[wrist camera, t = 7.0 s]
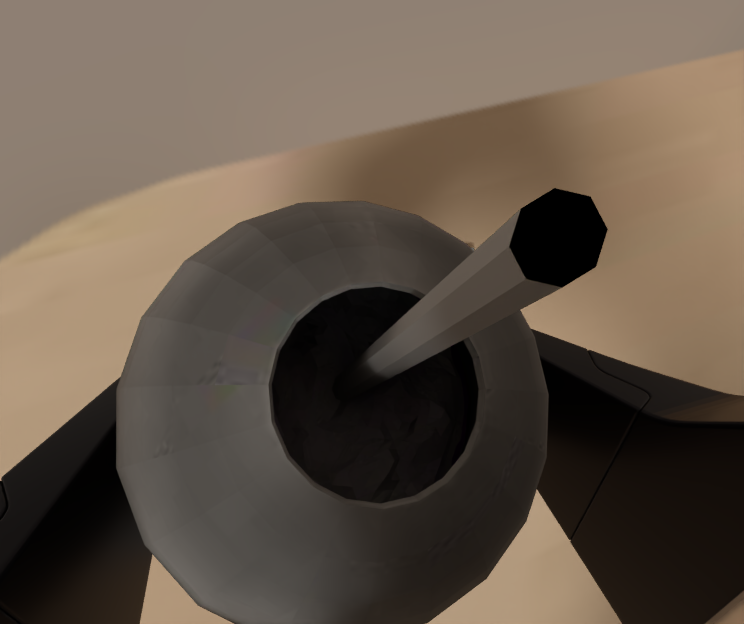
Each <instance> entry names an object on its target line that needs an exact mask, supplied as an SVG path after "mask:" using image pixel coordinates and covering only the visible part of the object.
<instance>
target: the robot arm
mask: <svg viewBox="0 0 744 624" xmlns="http://www.w3.org/2000/svg"><path fill="white" fill-rule="evenodd" d="M530 329H531V328H530ZM531 331H532V332H533V334H534V337H535V341H536V345H537V349H538V353H539V357H540V361H541V365H542V369H543V374H544V378H545V382H546V386H547V390H548V394H549V398H548V430H547V458H546V461H545V464H544V468H543V471H542V474H541V477H540V480H539V483H538V486H537V490H538V491H539V493H540V495H541V496H542V498H543V499H544V501H545V502H546V504H547V506H548V507H549V509H550V510H551V512H552V513H553V515H554V517H555V518H556V520H557V521H558V523H559V524H560V526H561V528H562V529H563V531H564V532H565V534H566V535H567V537H568V539H569V540H571V544H572V545H573V547H574V549H575V550H576V552H577V553H578V555H579V556H580V558H581V560H582V561H583V563H584V564H585V566H586V567H587V569H588V571H589V572H590V574H591V575H592V577H593V578H594V580H595V582H596V583H597V585H598V586H599V588H600V589H601V591H602V593H603V594H604V596H605V597H606V599H607V600H608V602H609V603H610V605H611V607H612V608H613V610H614V611H615V613H616V614H617V616H618V618H619V619H620V621H621V622H622V624H744V396H740V395H733V394H727V393H723V392H719V391H715V390H712V389H708V388H705V387H702V386H699V385H695V384H692V383H689V382H686V381H682V380H679V379H676V378H673V377H669V376H666V375H663V374H660V373H656V372H653V371H650V370H647V369H644V368H641V367H637V366H634V365H631V364H628V363H625V362H622V361H619V360H616V359H614V358H611V357H608V356H605V355H602V354H599V353H597V352H594V351H591V350H588V351H587V349H586V348H583V347H580V346H577V345H575V344H572V343H569V342H566V341H564V340H561V339H558V338H555V337H553V336H550V335H547V334H544V333H542V332H539V331H536V330H533V329H531ZM120 378H121V377H120ZM120 378H118V379H117V380H116V381H115V382H114V383H113V384H111V385H110V386H109V387H108V388H107V389H105V390H104V391H103V392H102V393H101V394H100V395H98V396H97V397H96V398H95V399H94V400H92V401H91V402H90V403H89V404H88V405H87V406H85V407H84V408H83V409H82V410H81V411H79V412H78V413H77V414H76V415H75V416H74V417H72V418H71V419H70V420H69V421H68V422H66V423H65V424H64V425H63V426H62V427H61V428H59V429H58V430H57V431H56V432H55V433H53V434H52V435H51V436H50V437H49V438H48V439H46V440H45V441H44V442H43V443H42V444H40V445H39V446H38V447H37V448H36V449H35V450H33V451H32V452H31V453H30V454H29V455H27V456H26V457H25V458H24V459H23V460H22V461H20V462H19V463H18V464H17V465H16V466H14V467H13V468H12V469H11V470H10V471H9V472H7V473H6V474H5V475H4V476H3V477H2V478H1V480H2V481H0V624H140V619H141V613H142V608H143V602H144V597H145V591H146V586H147V581H148V575H149V570H150V564H151V559H152V553H151V552H150V551H149V549H148V548H147V547H146V546H145V545H144V543H143V540H142V537H141V534H140V532H139V529H138V526H137V523H136V521H135V518H134V515H133V513H132V510H131V507H130V504H129V502H128V499H127V496H126V493H125V491H124V488H123V485H122V483H121V480H120V477H119V474H118V472H117V469H116V389H117V386H118V383H119V380H120Z"/></svg>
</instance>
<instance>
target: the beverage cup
mask: <svg viewBox="0 0 744 624" xmlns="http://www.w3.org/2000/svg"><path fill="white" fill-rule="evenodd" d="M607 230H608V229H607V227H606V225H605V223H604V221H603V220H602V218H601V216H600V214H599V212H598V210H597V208H596V206H595V204H594V202H593V201H592V199H591V197H590V196H586V195H581V194H577V193H573V192H569V191H564V190H560V189H556V188H554V189H552V190H551V191H549V192H547V193H546V194H544V195H543V196H541V197H539V198H538V199H536V200H534V201H533V202H531V203H529V204H528V205H526V206H525V207H523V208H521V209H520V210H519V211H518V212H517V213H516V214H514V215H513V216H512V217H511V218H510V219H509V220H508V221H507V222H506V223H505V224H504V225H502V226H501V227H500V228H499V229H498V230H497V231H496V232H495V233H494V234H493V235H491V236H490V237H489V238H488V239H487V240H486V241H485V242H484V243H483V244H482V245H480V246H479V247H478V248H477V249H476V250H475V251H473V250H472V249H471V248H470V247H469V246H468V245H467V244H466V243H464V242H463V241H461V240H459V239H457V238H456V237H454V236H452V235H451V234H449V233H447V232H445V231H444V230H442V229H440V228H439V227H437V226H435V225H434V224H432V223H430V222H428V221H427V220H425V219H423V218H422V217H420V216H418V215H415V214H411V213H407V212H403V211H399V210H396V209H392V208H388V207H384V206H380V205H376V204H373V203H369V202H365V201H342V202H306V203H297V204H294V205H291V206H288V207H285V208H282V209H279V210H276V211H273V212H270V213H267V214H264V215H261V216H258V217H255V218H252V219H249V220H246V221H243V222H240V223H238V224H236V225H235V226H234V227H232V228H231V229H229V230H228V231H226V232H225V233H224V234H222V235H221V236H219V237H218V238H217V239H215V240H214V241H212V242H211V243H209V244H208V245H207V246H205V247H204V248H202V249H201V250H200V251H198V252H197V253H195V254H194V255H192V256H191V257H190V258H188V259H187V260H185V261H184V262H183V264H182V265H181V266H180V268H179V269H178V270H177V272H176V273H175V274H174V276H173V277H172V278H171V279H170V281H169V282H168V283H167V285H166V286H165V287H164V289H163V290H162V291H161V293H160V294H159V295H158V296H157V298H156V299H155V300H154V302H153V303H152V304H151V306H150V307H149V308H148V310H147V311H146V312H145V314H144V315H143V316H142V317H141V320H140V323H139V326H138V329H137V332H136V334H135V337H134V340H133V343H132V346H131V349H130V352H129V355H128V357H127V360H126V363H125V366H124V369H123V372H122V375H121V378H120V380H119V383H118V386H117V389H116V469H117V472H118V474H119V477H120V480H121V483H122V485H123V488H124V491H125V493H126V496H127V499H128V502H129V504H130V507H131V510H132V513H133V515H134V518H135V521H136V523H137V526H138V529H139V532H140V534H141V537H142V540H143V543H144V545H145V546H146V547H147V548H148V549H149V551H150V552H151V553H152V554H153V555H154V556H155V557H156V558H157V560H158V561H159V562H160V563H161V564H162V565H163V566H164V568H165V569H166V570H167V571H168V572H169V573H170V574H171V575H172V577H173V578H174V579H175V580H176V581H177V582H178V583H179V584H180V586H181V587H182V588H183V589H184V590H185V591H186V592H187V593H188V595H189V596H190V597H191V598H192V599H193V600H194V601H195V603H196V604H197V605H198V606H200V607H202V608H204V609H206V610H208V611H210V612H212V613H214V614H216V615H218V616H220V617H222V618H224V619H226V620H228V621H230V622H232V623H234V624H425V623H428V622H429V621H431V620H432V619H433V618H435V617H436V616H437V615H439V614H440V613H441V612H443V611H444V610H445V609H447V608H448V607H449V606H451V605H452V604H453V603H455V602H456V601H457V600H459V599H460V598H461V597H463V596H464V595H465V594H467V593H468V592H469V591H471V590H472V589H473V588H475V587H476V586H477V585H479V584H480V583H481V582H483V581H484V580H485V579H487V577H488V576H489V574H490V573H491V571H492V570H493V568H494V567H495V566H496V564H497V563H498V561H499V560H500V558H501V557H502V556H503V554H504V553H505V551H506V550H507V548H508V547H509V545H510V544H511V543H512V541H513V540H514V538H515V537H516V535H517V534H518V532H519V531H520V530H521V528H522V527H523V525H524V524H525V522H526V521H527V517H528V514H529V511H530V508H531V505H532V502H533V499H534V496H535V493H536V489H537V486H538V483H539V480H540V477H541V474H542V471H543V468H544V464H545V461H546V458H547V430H548V398H549V394H548V390H547V386H546V382H545V378H544V374H543V369H542V365H541V361H540V357H539V353H538V349H537V345H536V341H535V337H534V334H533V332H532V331H531V329H530V327H529V325H528V323H527V322H526V320H525V318H524V316H523V314H522V313H521V311H520V309H522V308H524V307H526V306H528V305H530V304H532V303H534V302H536V301H538V300H539V299H541V298H543V297H545V296H547V295H549V294H551V293H553V292H555V291H556V290H558V289H560V288H562V287H564V286H565V285H567V284H569V283H570V282H572V281H574V280H575V279H577V278H579V277H580V276H582V275H583V274H585V273H587V272H588V271H590V270H592V269H593V268H595V267H596V265H597V262H598V258H599V255H600V252H601V249H602V246H603V242H604V239H605V236H606V233H607Z"/></svg>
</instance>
